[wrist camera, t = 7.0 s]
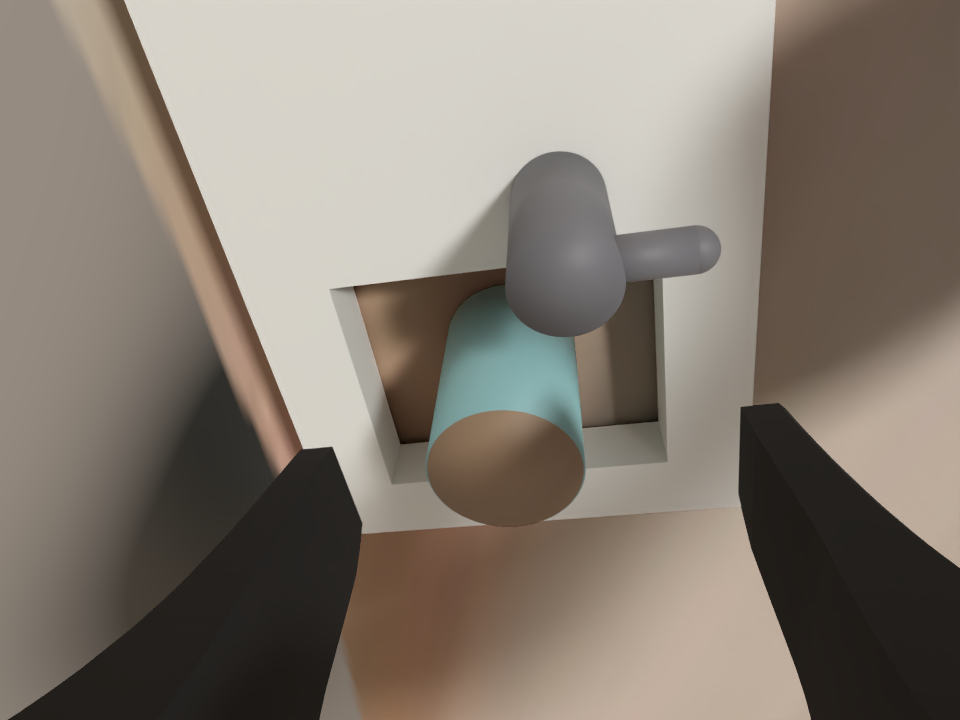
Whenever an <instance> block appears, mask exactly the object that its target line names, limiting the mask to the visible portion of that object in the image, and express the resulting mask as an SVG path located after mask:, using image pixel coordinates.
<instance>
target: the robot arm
mask: <svg viewBox="0 0 960 720" xmlns="http://www.w3.org/2000/svg"><path fill="white" fill-rule="evenodd" d="M738 495H739V499H740V503H741V508H742V512H743V516H744V521H745V525H746V529H747V533H748V537H749V541H750V545H751V549H752V551H753V554H754V557H755V560H756V562H757V565H758V568H759V571H760V573H761V576H762V579H763V581H764V584H765V587H766V589H767V592H768V595H769V598H770V600H771V603H772V606H773V608H774V611H775V614H776V616H777V619H778V622H779V624H780V627H781V630H782V632H783V635H784V638H785V640H786V643H787V646H788V648H789V651H790V654H791V656H792V659H793V662H794V664H795V667H796V670H797V673H798V676H799V679H800V682H801V685H802V688H803V691H804V694H805V698H806V701H807V705H808V709H809V713H810V716H811V720H960V568H959V567H958V566H956V565H955V564H954V563H952V562H951V561H949V560H948V559H947V558H945V557H944V556H943V555H941V554H940V553H939V552H937V551H936V550H935V549H934V548H932V547H931V546H930V545H928V544H927V543H926V542H925V541H923V540H922V539H921V538H920V537H918V536H917V535H916V534H915V533H913V532H912V531H911V530H910V529H909V528H907V527H906V526H905V525H904V524H903V523H902V522H900V521H899V520H898V519H897V518H896V517H895V516H893V515H892V514H891V513H890V512H889V511H887V510H886V509H885V508H884V507H883V506H882V505H881V504H880V503H878V502H877V501H876V500H875V499H874V498H873V497H872V496H871V495H870V494H869V493H867V492H866V491H865V490H864V489H863V488H862V487H861V486H860V485H859V484H858V483H857V482H856V481H855V480H854V479H853V478H852V477H851V476H849V475H848V474H847V473H846V472H845V471H844V470H843V469H842V468H841V467H840V466H839V465H838V464H837V463H836V462H835V461H834V460H833V459H832V458H831V457H830V456H829V455H828V454H827V453H826V452H825V451H824V450H823V449H822V448H821V447H820V446H819V445H818V444H817V443H816V442H815V440H814V439H813V438H812V437H811V436H810V435H809V434H808V433H807V432H806V431H805V430H804V429H803V428H802V426H801V425H800V424H799V423H798V422H797V421H796V420H795V419H794V418H793V417H792V415H791V414H790V413H789V412H788V411H787V410H786V409H785V408H784V407H783V406H782V405H780V404H779V403H775V404H764V405H754V406H744V407H741V408H740V446H739V483H738ZM362 524H363V523H362V521H361V518H360V516H359V513H358V511H357V508H356V505H355V503H354V500H353V498H352V495H351V493H350V490H349V488H348V485H347V482H346V480H345V477H344V475H343V472H342V470H341V467H340V465H339V462H338V459H337V457H336V454H335V452H334V449H333V447H322V448H312V449H301V450H300V451H299V452H298V454H297V455H296V456H295V457H294V458H293V459H292V460H291V461H290V463H289V464H288V465H287V466H286V467H285V468H284V470H283V471H282V472H281V473H280V474H279V476H278V477H277V478H276V479H275V480H274V482H273V483H272V484H271V485H270V486H269V487H268V489H267V490H266V491H265V492H264V493H263V495H262V496H261V497H260V498H259V500H257V502H256V503H255V504H254V505H253V506H252V507H251V509H250V510H249V511H248V512H247V513H246V514H245V515H244V517H243V518H242V519H241V520H240V521H239V522H238V523H237V525H236V526H235V527H234V528H233V529H232V530H231V532H230V533H229V534H228V535H227V536H226V537H225V538H224V539H223V540H222V541H221V542H220V543H219V544H218V545H217V547H216V548H215V549H214V550H213V551H212V552H211V553H210V554H209V555H208V556H207V557H206V558H205V559H204V560H203V561H202V562H201V563H200V564H199V565H198V567H197V568H196V569H195V570H194V571H193V572H192V573H191V574H190V575H189V576H188V577H187V578H186V579H185V580H184V581H183V582H182V583H181V584H180V585H179V586H178V587H177V588H176V589H175V590H174V591H173V592H171V593H170V594H169V595H168V596H167V597H166V598H165V599H164V600H163V601H162V602H161V603H160V604H159V605H157V606H156V607H155V608H154V609H153V610H152V611H151V612H150V613H148V614H147V615H146V616H145V617H144V618H143V619H142V620H141V621H140V622H138V623H137V624H136V625H135V626H134V627H133V628H131V629H130V630H129V631H128V632H127V633H125V634H124V635H123V636H121V637H120V638H119V639H118V640H116V641H115V642H114V643H113V644H111V645H110V646H109V647H108V648H106V649H105V650H104V651H103V652H102V653H100V654H99V655H98V656H96V657H95V658H94V659H93V660H91V661H90V662H89V663H88V664H86V665H85V666H84V667H83V668H81V669H80V670H79V671H77V672H76V673H75V674H73V675H72V676H70V677H69V678H68V679H67V680H65V681H64V682H62V683H61V684H60V685H58V686H57V687H55V688H54V689H53V690H51V691H50V692H48V693H47V694H45V695H44V696H43V697H41V698H40V699H38V700H37V701H35V702H34V703H32V704H31V705H29V706H28V707H26V708H25V709H24V710H22V711H21V712H19V713H18V714H16V715H15V716H13V717H11V718H10V719H8V720H319V718H320V713H321V709H322V704H323V700H324V695H325V691H326V686H327V683H328V679H329V675H330V672H331V668H332V664H333V661H334V657H335V653H336V649H337V646H338V642H339V638H340V635H341V631H342V627H343V623H344V620H345V616H346V612H347V608H348V604H349V601H350V597H351V593H352V589H353V585H354V581H355V577H356V572H357V565H358V558H359V550H360V542H361V533H362Z"/></svg>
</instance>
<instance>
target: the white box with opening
mask: <svg viewBox="0 0 960 720" xmlns="http://www.w3.org/2000/svg"><path fill="white" fill-rule="evenodd" d="M124 1H125V4H126V6H127V9H128V11H129V14H130V16H131V19H132V21H133V24H134V26H135V29H136V31H137V34H138V36H139V39H140V41H141V44H142V46H143V49H144V51H145V54H146V56H147V59H148V61H149V64H150V66H151V69H152V71H153V74H154V76H155V79H156V81H157V84H158V86H159V89H160V91H161V94H162V96H163V99H164V101H165V104H166V106H167V109H168V111H169V114H170V116H171V119H172V121H173V124H174V126H175V129H176V131H177V134H178V136H179V139H180V141H181V144H182V146H183V149H184V151H185V154H186V156H187V159H188V162H189V164H190V167H191V169H192V172H193V174H194V177H195V179H196V182H197V184H198V187H199V189H200V192H201V194H202V197H203V199H204V202H205V204H206V207H207V209H208V212H209V214H210V217H211V219H212V222H213V224H214V227H215V229H216V232H217V234H218V237H219V239H220V242H221V244H222V247H223V249H224V252H225V254H226V257H227V259H228V262H229V264H230V267H231V269H232V272H233V274H234V277H235V279H236V282H237V284H238V287H239V289H240V292H241V294H242V297H243V299H244V302H245V304H246V307H247V309H248V312H249V314H250V317H251V319H252V322H253V324H254V327H255V329H256V332H257V334H258V337H259V339H260V342H261V344H262V347H263V349H264V352H265V354H266V357H267V359H268V362H269V364H270V367H271V369H272V372H273V374H274V377H275V379H276V382H277V384H278V387H279V389H280V392H281V394H282V397H283V399H284V402H285V404H286V407H287V409H288V412H289V414H290V417H291V419H292V422H293V424H294V427H295V429H296V432H297V434H298V437H299V439H300V442H301V444H302V447H303V449H312V448H322V447H333V449H334V452H335V454H336V457H337V459H338V462H339V465H340V467H341V470H342V472H343V475H344V477H345V480H346V482H347V485H348V488H349V490H350V493H351V495H352V498H353V500H354V503H355V505H356V508H357V511H358V513H359V516H360V518H361V521H362V523H363V524H362V533H361V534H368V533H382V532H396V531H410V530H424V529H438V528H452V527H465V526H479V525H486V524H482V523H478V522H475V521H473V520H470V519H467V518H465V517H463V516H461V515H459V514H457V513H456V512H454V511H453V510H451V509H450V508H449V507H447V506H446V505H445V504H444V503H443V502H442V501H441V500H440V499H439V498H438V497H437V496H436V494H435V493H434V491H433V490H432V488H431V486H430V484H429V481H428V479H427V474H426V457H427V451H428V445H429V442H422V443H411V444H400V442H399V438H398V435H397V432H396V428H395V425H394V422H393V418H392V415H391V412H390V408H389V405H388V402H387V398H386V395H385V392H384V388H383V385H382V382H381V378H380V375H379V372H378V368H377V365H376V361H375V358H374V355H373V351H372V348H371V345H370V341H369V338H368V335H367V331H366V328H365V325H364V321H363V318H362V315H361V311H360V308H359V305H358V301H357V298H356V295H355V291H354V288H353V286H359V285H367V284H375V283H384V282H392V281H400V280H409V279H417V278H425V277H433V276H442V275H450V274H458V273H467V272H475V271H483V270H491V269H500V268H506V279H505V292H506V297H507V301H508V303H509V306H510V308H511V310H512V311H513V313H514V314H515V315H516V317H517V318H518V319H519V320H520V321H521V322H522V323H523V324H525V325H526V326H528V327H529V328H531V329H533V330H534V331H537V332H539V333H541V334H545V335H548V336H554V337H572V336H578V335H582V334H586V333H588V332H591V331H593V330H595V329H597V328H599V327H600V326H602V325H603V324H604V323H606V322H607V321H608V320H609V319H610V318H611V317H612V316H613V315H614V314H615V313H616V311H617V310H618V308H619V307H620V305H621V302H622V300H623V297H624V294H625V289H626V283H627V282H636V281H644V280H653V279H654V307H655V335H656V363H657V392H658V420H659V422H648V423H637V424H625V425H614V426H603V427H591V428H582V431H583V443H584V454H585V468H586V473H585V480H584V483H583V486H582V488H581V490H580V492H579V494H578V495H577V497H576V498H575V499H574V501H573V502H572V503H571V504H570V505H569V506H568V507H566V508H565V509H564V510H562V511H561V512H560V513H558V514H556V515H555V516H553V517H551V518H548V519H546V520H544V521H549V520H563V519H577V518H591V517H605V516H619V515H633V514H647V513H661V512H675V511H688V510H702V509H716V508H730V507H741V503H740V499H739V495H738V483H739V446H740V408H741V407H744V406H753V389H754V371H755V354H756V336H757V319H758V302H759V284H760V267H761V249H762V232H763V214H764V197H765V180H766V162H767V145H768V127H769V110H770V93H771V75H772V58H773V40H774V23H775V5H776V0H124Z"/></svg>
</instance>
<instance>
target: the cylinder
mask: <svg viewBox="0 0 960 720" xmlns="http://www.w3.org/2000/svg"><path fill="white" fill-rule="evenodd" d="M585 473H586V468H585V454H584V443H583V431H582V420H581V408H580V397H579V385H578V374H577V362H576V351H575V339H574V336H572V337H554V336H548V335H545V334H541V333H539V332H537V331H534V330H533V329H531V328H529V327H528V326H526V325H525V324H523V323H522V322H521V321H520V320H519V319H518V318H517V317H516V315H515V314H514V313H513V311H512V310H511V308H510V306H509V303H508V301H507V297H506V292H505V285H499V286H494V287H490V288H487V289H484V290H482V291H479V292H477V293H476V294H474V295H472V296H471V297H469V298H468V299H467V300H466V301H464V302H463V303H462V304H461V305H460V306H459V308H458V309H457V311H456V312H455V314H454V315H453V317H452V319H451V322H450V325H449V331H448V336H447V342H446V348H445V353H444V359H443V365H442V371H441V376H440V382H439V388H438V394H437V399H436V405H435V411H434V416H433V422H432V428H431V434H430V439H429V445H428V451H427V457H426V474H427V479H428V481H429V484H430V486H431V488H432V490H433V491H434V493H435V494H436V496H437V497H438V498H439V499H440V500H441V501H442V502H443V503H444V504H445V505H446V506H447V507H449V508H450V509H451V510H453V511H454V512H456V513H457V514H459V515H461V516H463V517H465V518H467V519H470V520H473V521H475V522H478V523H482V524H486V525H492V526H501V527H516V526H525V525H530V524H534V523H538V522H541V521H544V520H546V519H548V518H551V517H553V516H555V515H556V514H558V513H560V512H561V511H562V510H564V509H565V508H566V507H568V506H569V505H570V504H571V503H572V502H573V501H574V499H575V498H576V497H577V495H578V494H579V492H580V490H581V488H582V486H583V483H584V480H585Z"/></svg>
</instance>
